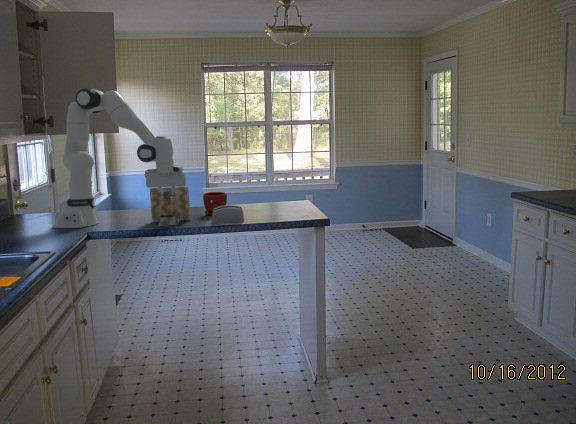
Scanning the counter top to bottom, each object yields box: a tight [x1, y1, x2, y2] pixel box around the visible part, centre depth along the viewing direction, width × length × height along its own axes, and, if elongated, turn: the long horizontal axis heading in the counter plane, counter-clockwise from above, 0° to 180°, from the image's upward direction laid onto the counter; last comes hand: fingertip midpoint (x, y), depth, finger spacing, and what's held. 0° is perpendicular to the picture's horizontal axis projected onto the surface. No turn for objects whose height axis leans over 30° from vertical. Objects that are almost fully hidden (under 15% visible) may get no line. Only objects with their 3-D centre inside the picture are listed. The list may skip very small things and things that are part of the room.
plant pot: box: [202, 191, 228, 217], centre depth 308 cm, size 13×13×12 cm
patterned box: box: [149, 185, 192, 227], centre depth 287 cm, size 20×16×18 cm
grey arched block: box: [211, 204, 245, 224], centre depth 286 cm, size 17×5×10 cm, turn 101°
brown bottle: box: [161, 190, 174, 215], centre depth 284 cm, size 5×10×12 cm, turn 5°
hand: (167, 195), depth 284 cm, fingers closed on brown bottle, 3 cm apart
